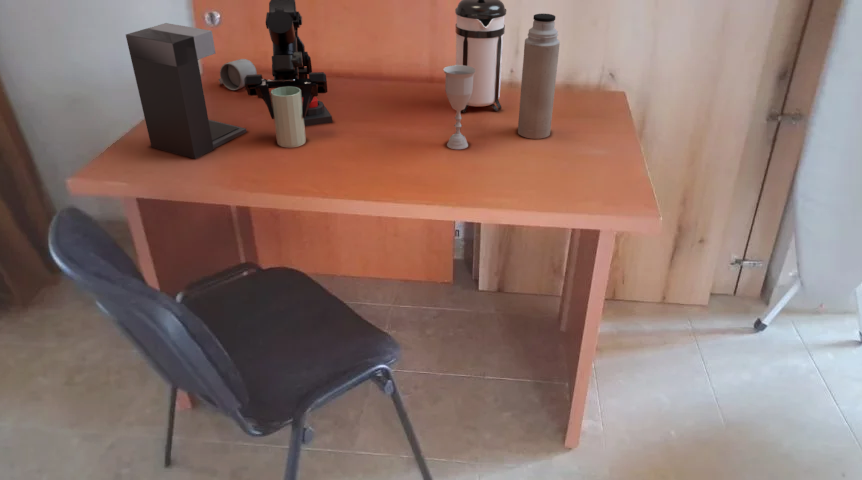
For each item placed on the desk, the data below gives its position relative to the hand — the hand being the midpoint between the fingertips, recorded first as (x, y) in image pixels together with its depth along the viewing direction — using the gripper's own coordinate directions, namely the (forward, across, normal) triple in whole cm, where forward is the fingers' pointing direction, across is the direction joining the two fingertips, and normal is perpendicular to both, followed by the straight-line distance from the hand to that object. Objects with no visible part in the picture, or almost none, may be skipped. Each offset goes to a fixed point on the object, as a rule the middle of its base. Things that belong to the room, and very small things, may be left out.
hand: (288, 117), depth 162 cm
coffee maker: (+1, -22, +8) cm, 23 cm away
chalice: (+8, +39, +1) cm, 40 cm away
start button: (-10, +4, +14) cm, 18 cm away
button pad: (-7, +4, +17) cm, 19 cm away
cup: (+4, 0, +6) cm, 7 cm away
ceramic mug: (-27, -17, +36) cm, 48 cm away
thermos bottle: (+4, +59, +5) cm, 59 cm away
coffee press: (-11, +48, +21) cm, 54 cm away
